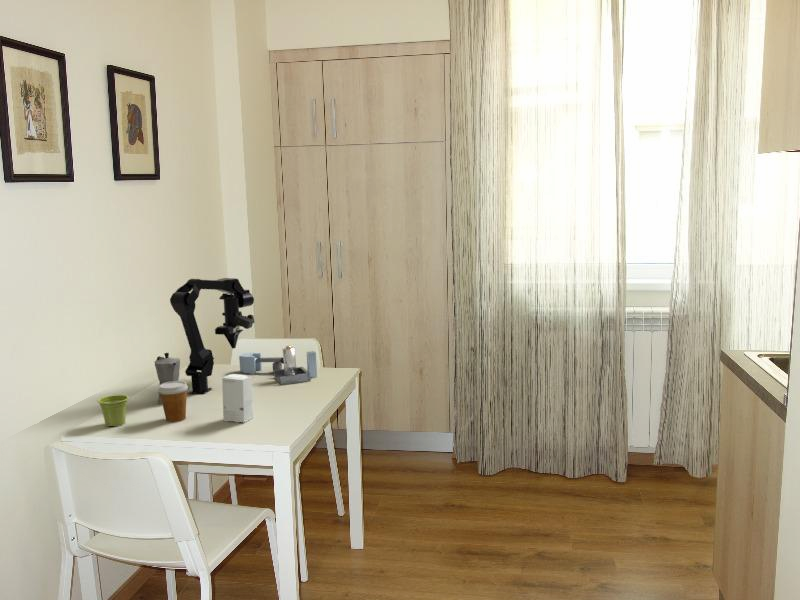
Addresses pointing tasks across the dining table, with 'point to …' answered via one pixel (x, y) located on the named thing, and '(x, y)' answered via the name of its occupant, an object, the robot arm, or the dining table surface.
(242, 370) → the lever frame
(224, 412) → the skincare box
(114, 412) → the plant pot
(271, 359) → the lever
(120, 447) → the dining table surface
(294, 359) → the silver metal cylinder
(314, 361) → the tray
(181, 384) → the disposable coffee cup
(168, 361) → the coffeepot
